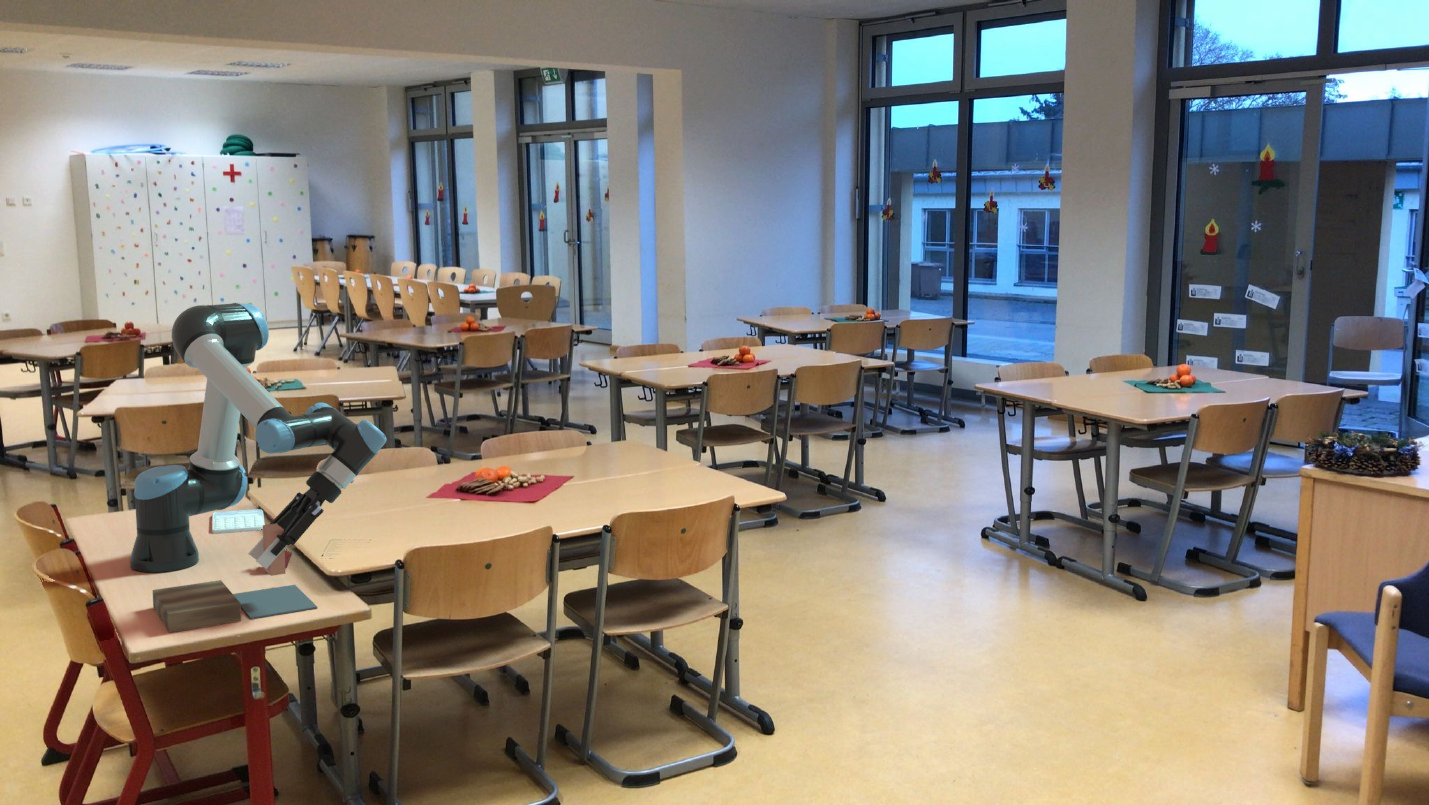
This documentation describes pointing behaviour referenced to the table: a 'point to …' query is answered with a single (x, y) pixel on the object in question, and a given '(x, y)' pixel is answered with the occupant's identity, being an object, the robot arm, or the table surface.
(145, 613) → the table surface
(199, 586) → the brown flat block
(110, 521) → the table surface
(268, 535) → the salmon pink brick
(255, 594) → the mat
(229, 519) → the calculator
